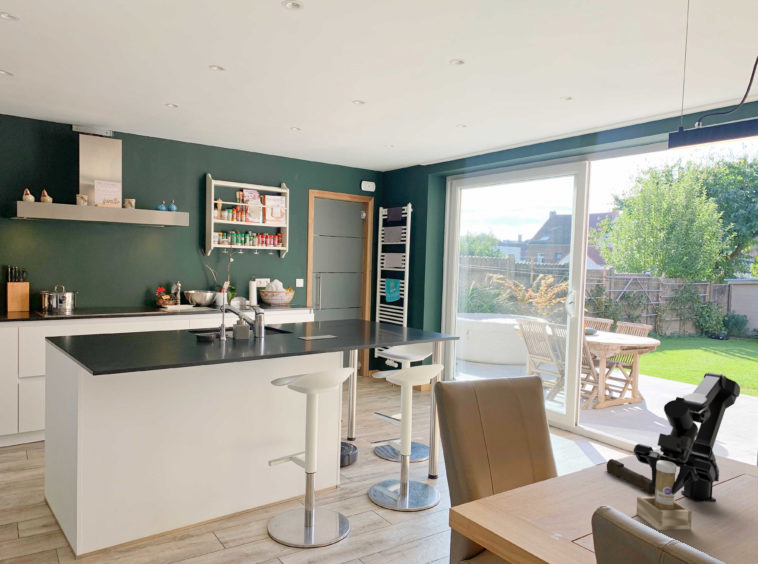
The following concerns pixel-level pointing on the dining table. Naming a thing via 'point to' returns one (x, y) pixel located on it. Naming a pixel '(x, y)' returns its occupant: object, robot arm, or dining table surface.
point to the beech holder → (664, 515)
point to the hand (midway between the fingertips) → (662, 490)
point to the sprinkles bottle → (665, 485)
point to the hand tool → (630, 475)
